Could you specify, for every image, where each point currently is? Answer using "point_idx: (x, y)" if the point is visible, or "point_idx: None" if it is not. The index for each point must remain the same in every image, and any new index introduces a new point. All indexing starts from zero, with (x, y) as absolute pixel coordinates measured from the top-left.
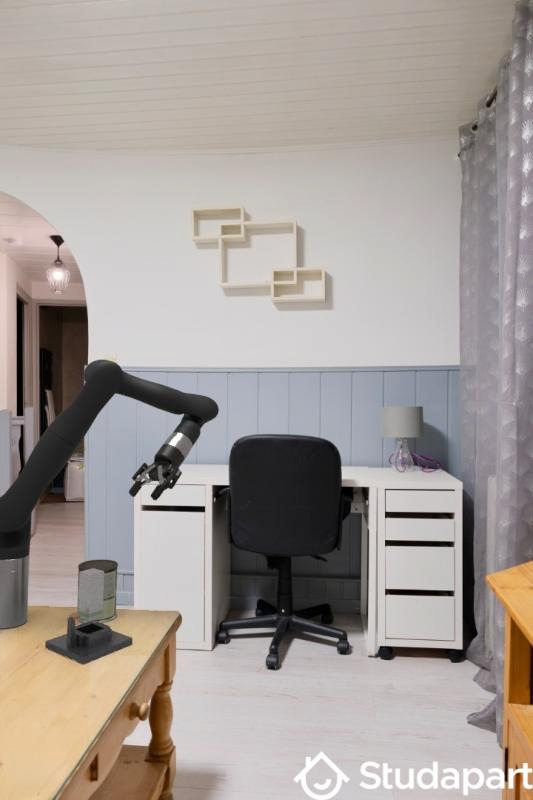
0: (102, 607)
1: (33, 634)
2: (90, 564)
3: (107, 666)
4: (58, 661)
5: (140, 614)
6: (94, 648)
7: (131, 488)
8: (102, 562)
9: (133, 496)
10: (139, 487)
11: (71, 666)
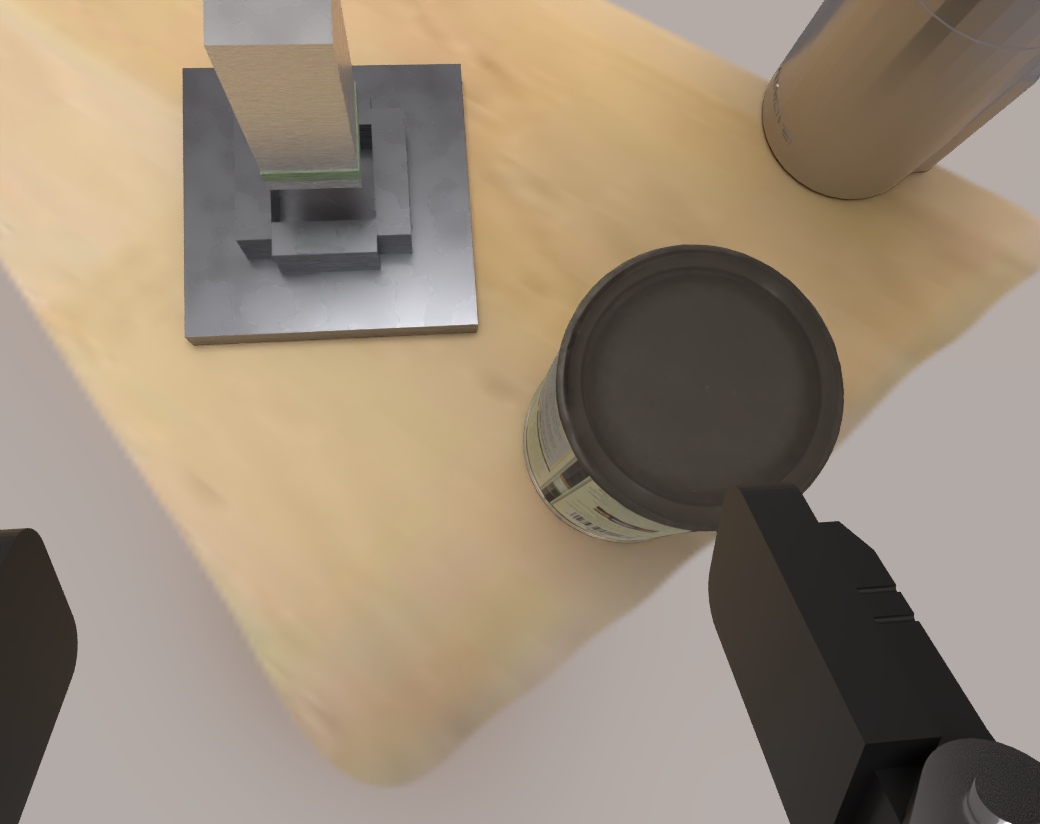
0: (259, 164)
1: (630, 123)
2: (752, 352)
3: (94, 136)
4: None
5: (486, 630)
6: (223, 150)
7: (809, 540)
8: (742, 446)
9: (709, 578)
10: (798, 789)
11: None
